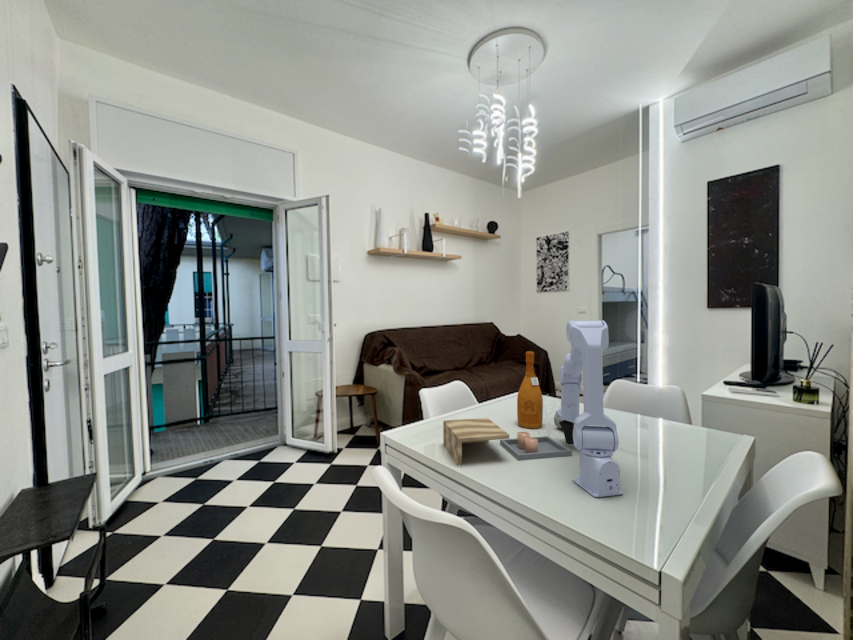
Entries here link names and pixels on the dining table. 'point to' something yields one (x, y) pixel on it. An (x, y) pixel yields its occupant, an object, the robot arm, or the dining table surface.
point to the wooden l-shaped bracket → (469, 434)
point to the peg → (522, 439)
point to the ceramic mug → (557, 420)
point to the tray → (545, 449)
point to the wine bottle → (530, 398)
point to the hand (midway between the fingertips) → (570, 443)
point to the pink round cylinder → (531, 445)
